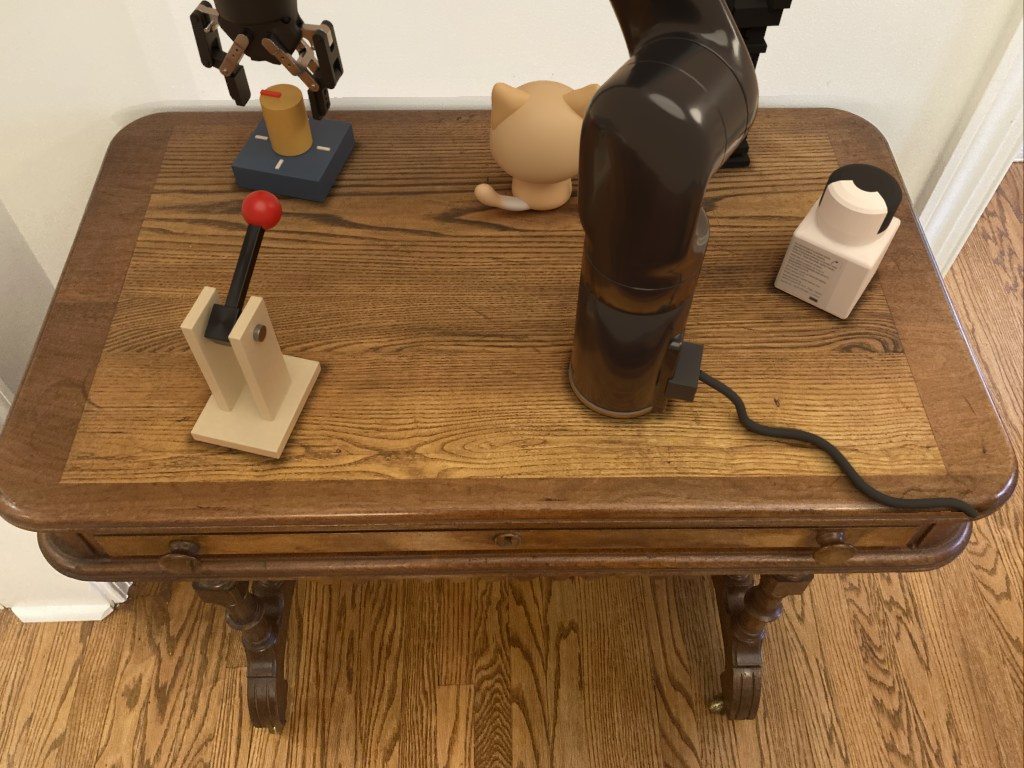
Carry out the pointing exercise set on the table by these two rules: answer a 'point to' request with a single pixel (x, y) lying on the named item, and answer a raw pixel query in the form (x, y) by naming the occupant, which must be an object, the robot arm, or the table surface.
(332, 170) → the panel
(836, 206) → the container
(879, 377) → the table surface
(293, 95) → the dial
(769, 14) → the chess piece
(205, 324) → the lever stand
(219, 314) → the red knob lever
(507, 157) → the kitten
